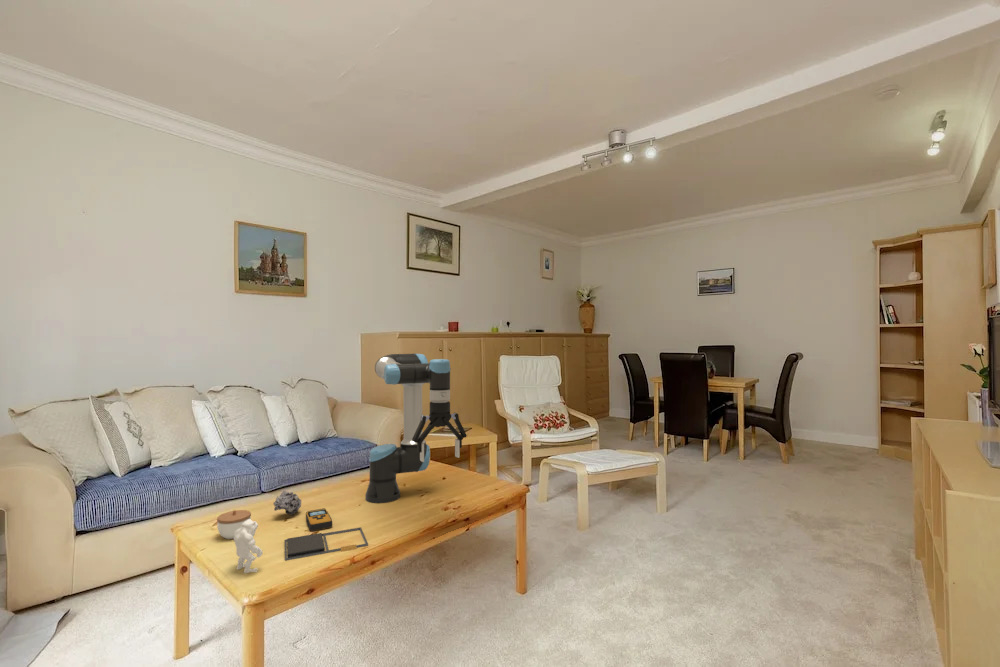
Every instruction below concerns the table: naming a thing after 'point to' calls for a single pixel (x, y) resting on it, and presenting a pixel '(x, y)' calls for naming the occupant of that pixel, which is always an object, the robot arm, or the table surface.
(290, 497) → the mineral specimen
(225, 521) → the lidded jar
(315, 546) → the grey flat frame
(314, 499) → the table surface
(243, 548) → the figurine
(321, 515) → the electronic device
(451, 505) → the table surface
